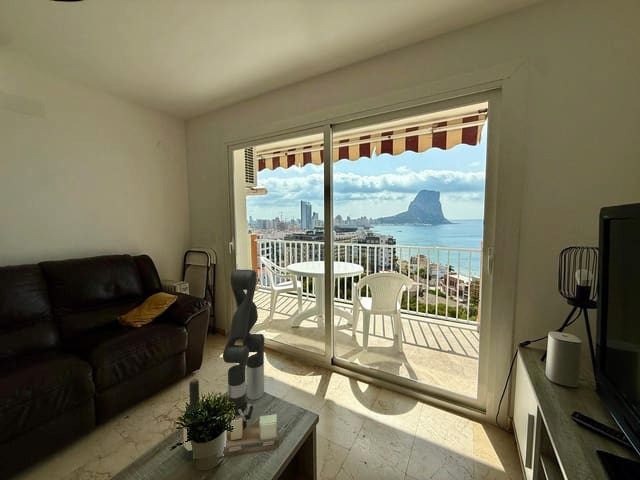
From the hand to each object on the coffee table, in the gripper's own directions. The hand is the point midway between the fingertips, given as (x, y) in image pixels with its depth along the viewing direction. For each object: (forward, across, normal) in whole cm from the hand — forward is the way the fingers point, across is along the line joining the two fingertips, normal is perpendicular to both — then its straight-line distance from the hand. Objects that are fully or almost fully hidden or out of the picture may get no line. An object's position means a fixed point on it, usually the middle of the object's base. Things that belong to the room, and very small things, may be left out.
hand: (237, 428), depth 108 cm
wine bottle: (+4, +16, +3) cm, 17 cm away
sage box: (+2, -13, +4) cm, 14 cm away
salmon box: (+2, 0, 0) cm, 2 cm away
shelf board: (+4, -5, +2) cm, 7 cm away
